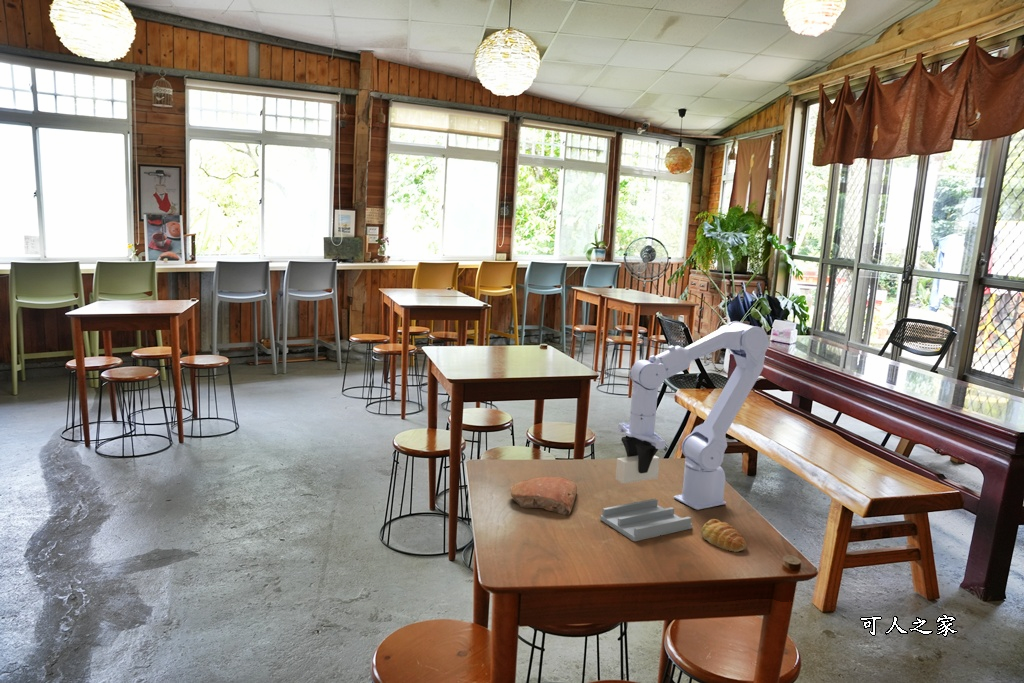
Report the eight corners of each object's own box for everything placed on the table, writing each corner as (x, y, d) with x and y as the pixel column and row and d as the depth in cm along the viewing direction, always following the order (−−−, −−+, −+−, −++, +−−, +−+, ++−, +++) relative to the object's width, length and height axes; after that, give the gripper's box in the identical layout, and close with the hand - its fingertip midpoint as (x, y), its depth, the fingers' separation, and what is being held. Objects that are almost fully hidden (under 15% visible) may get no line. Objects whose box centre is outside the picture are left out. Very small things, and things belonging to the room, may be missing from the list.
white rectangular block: (649, 473, 164) (651, 453, 163) (657, 478, 161) (659, 457, 160) (615, 479, 159) (617, 458, 158) (623, 483, 156) (625, 462, 155)
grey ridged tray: (656, 508, 159) (657, 498, 159) (692, 528, 149) (693, 517, 149) (600, 519, 151) (600, 508, 151) (634, 541, 141) (635, 530, 141)
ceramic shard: (520, 464, 169) (580, 480, 166) (514, 490, 169) (574, 506, 167) (509, 477, 155) (574, 495, 152) (503, 505, 155) (568, 523, 152)
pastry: (753, 550, 141) (755, 532, 140) (730, 557, 138) (731, 539, 137) (719, 531, 149) (721, 515, 148) (696, 537, 146) (697, 520, 145)
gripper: (609, 406, 162) (605, 461, 164) (650, 422, 149) (644, 482, 151) (633, 404, 165) (629, 458, 167) (675, 420, 153) (669, 478, 155)
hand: (638, 469), depth 160 cm, fingers closed on white rectangular block, 3 cm apart
